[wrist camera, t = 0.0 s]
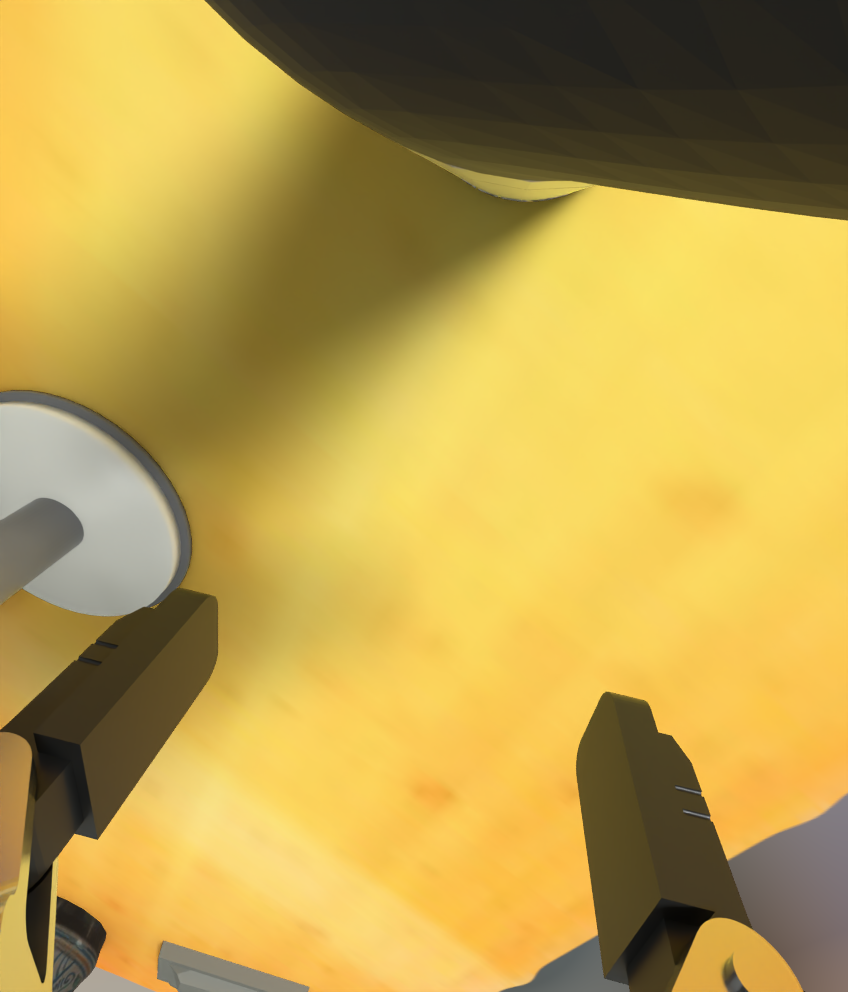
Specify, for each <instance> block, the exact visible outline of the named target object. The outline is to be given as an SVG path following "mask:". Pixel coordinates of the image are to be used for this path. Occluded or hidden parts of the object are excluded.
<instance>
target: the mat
mask: <svg viewBox="0 0 848 992" xmlns="http://www.w3.org/2000/svg"><path fill="white" fill-rule="evenodd" d="M8 401H28V402H35V403H41V404H45V405H49V406H53V407H56V408H60V409H62V410H65V411H67V412H70V413H72V414H74V415H77V416H79V417H81V418H83V419H85V420H86V421H88V422H90V423H92V424H94V425H95V426H97V427H98V428H100V429H102V430H103V431H105V432H106V433H108V434H109V435H110V436H112V437H113V438H114V439H116V440H117V441H118V442H119V443H121V444H122V445H123V446H124V447H125V448H126V449H128V450H129V451H130V452H131V453H132V454H133V455H134V456H135V457H136V458H137V459H138V460H139V461H140V462H141V463H142V465H143V466H144V467H145V468H146V469H147V470H148V471H149V472H150V474H151V475H152V477H153V478H154V479H155V481H156V482H157V483H158V485H159V486H160V488H161V490H162V491H163V493H164V495H165V496H166V498H167V500H168V502H169V504H170V506H171V509H172V511H173V513H174V516H175V519H176V522H177V525H178V529H179V535H180V541H181V556H180V562H179V566H178V569H177V572H176V575H175V577H174V578H173V580H172V582H171V583H170V584H169V586H168V587H167V588H166V589H165V590H164V591H163V592H162V593H161V594H160V595H159V597H158V598H157V599H156V600H155V601H154V602H152V603H151V604H150V605H148V606H147V607H148V608H149V607H152V606H154V605H156V604H158V603H160V602H162V601H163V600H164V599H165V598H166V597H167V596H168V595H169V594H170V593H171V592H172V591H173V590H175V589H176V588H177V587H178V586H179V585H180V584H181V582H182V580H183V579H184V577H185V575H186V573H187V570H188V568H189V565H190V560H191V554H192V538H191V532H190V526H189V522H188V519H187V515H186V512H185V510H184V507H183V505H182V503H181V500H180V498H179V496H178V494H177V492H176V491H175V489H174V487H173V485H172V484H171V482H170V480H169V479H168V478H167V476H166V475H165V473H164V472H163V471H162V469H161V468H160V466H159V465H158V464H157V463H156V462H155V461H154V459H153V458H152V457H151V456H150V455H149V454H148V453H147V451H145V450H144V449H143V448H142V447H141V446H140V445H139V444H138V443H137V442H136V441H135V440H134V439H133V438H132V437H130V436H129V435H128V434H127V433H125V432H124V431H123V430H122V429H120V428H119V427H118V426H117V425H115V424H114V423H112V422H110V421H109V420H107V419H106V418H104V417H103V416H101V415H100V414H98V413H96V412H94V411H92V410H90V409H88V408H86V407H85V406H83V405H80V404H78V403H75V402H73V401H70V400H68V399H65V398H62V397H59V396H55V395H52V394H48V393H43V392H36V391H30V390H11V391H4V392H0V402H8Z"/></svg>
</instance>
